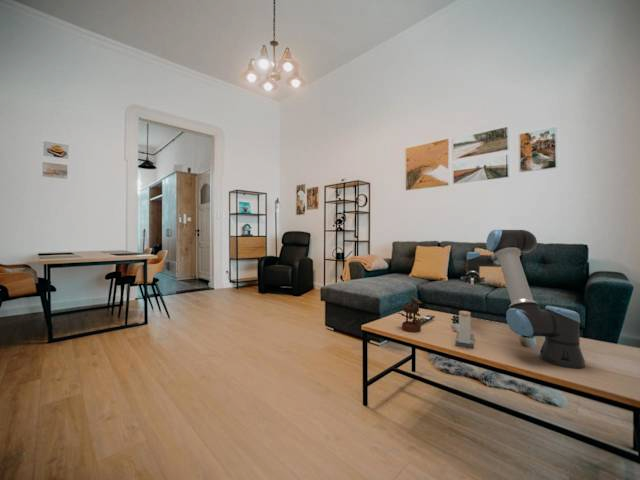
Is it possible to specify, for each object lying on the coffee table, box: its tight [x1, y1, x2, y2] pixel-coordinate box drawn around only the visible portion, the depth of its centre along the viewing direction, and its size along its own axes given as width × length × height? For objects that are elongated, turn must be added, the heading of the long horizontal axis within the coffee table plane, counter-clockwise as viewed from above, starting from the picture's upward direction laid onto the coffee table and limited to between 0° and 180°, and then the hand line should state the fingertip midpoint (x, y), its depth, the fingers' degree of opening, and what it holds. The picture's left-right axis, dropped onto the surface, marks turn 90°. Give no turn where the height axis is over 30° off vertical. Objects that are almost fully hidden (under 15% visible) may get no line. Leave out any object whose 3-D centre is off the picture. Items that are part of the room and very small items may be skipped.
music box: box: [397, 295, 423, 334], centre depth 167 cm, size 15×11×20 cm
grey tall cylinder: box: [458, 310, 472, 344], centre depth 142 cm, size 5×5×15 cm
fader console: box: [454, 331, 475, 350], centre depth 148 cm, size 18×8×2 cm, turn 151°
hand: (472, 282), depth 156 cm, fingers closed
